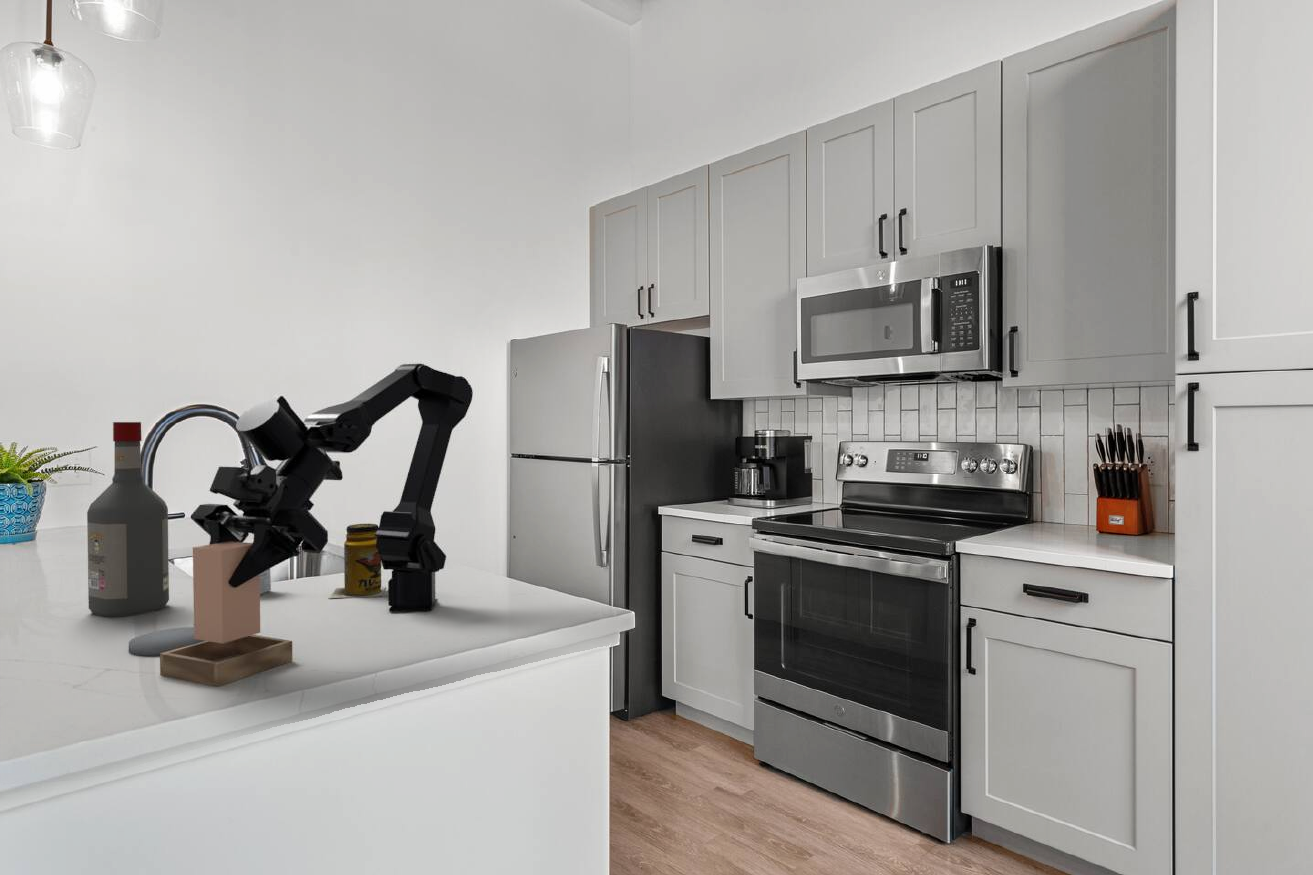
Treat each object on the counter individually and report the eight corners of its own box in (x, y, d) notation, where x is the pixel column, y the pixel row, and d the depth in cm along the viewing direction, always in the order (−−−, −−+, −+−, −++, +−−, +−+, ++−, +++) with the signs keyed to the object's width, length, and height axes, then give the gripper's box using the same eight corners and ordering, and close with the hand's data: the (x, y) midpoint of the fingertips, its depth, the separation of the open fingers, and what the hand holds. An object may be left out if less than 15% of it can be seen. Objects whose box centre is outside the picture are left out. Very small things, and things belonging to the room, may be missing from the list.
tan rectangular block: (232, 628, 95) (231, 541, 95) (260, 632, 93) (259, 543, 93) (194, 638, 90) (192, 547, 90) (222, 643, 88) (221, 550, 88)
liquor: (113, 619, 114) (110, 422, 114) (82, 612, 118) (79, 422, 118) (175, 606, 122) (173, 422, 122) (144, 600, 127) (142, 422, 126)
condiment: (380, 596, 129) (380, 527, 129) (327, 599, 127) (327, 528, 127) (386, 587, 136) (385, 521, 136) (336, 590, 135) (335, 523, 134)
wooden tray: (237, 651, 98) (236, 632, 98) (292, 660, 94) (292, 640, 94) (160, 674, 89) (159, 653, 89) (217, 686, 85) (217, 664, 85)
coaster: (229, 632, 107) (229, 625, 107) (194, 654, 97) (194, 646, 97) (154, 634, 106) (154, 627, 106) (111, 656, 96) (111, 649, 96)
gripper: (203, 442, 98) (116, 538, 89) (307, 443, 91) (224, 548, 81) (257, 496, 106) (182, 591, 96) (358, 502, 98) (287, 605, 88)
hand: (216, 583), depth 90 cm, fingers closed on tan rectangular block, 5 cm apart
